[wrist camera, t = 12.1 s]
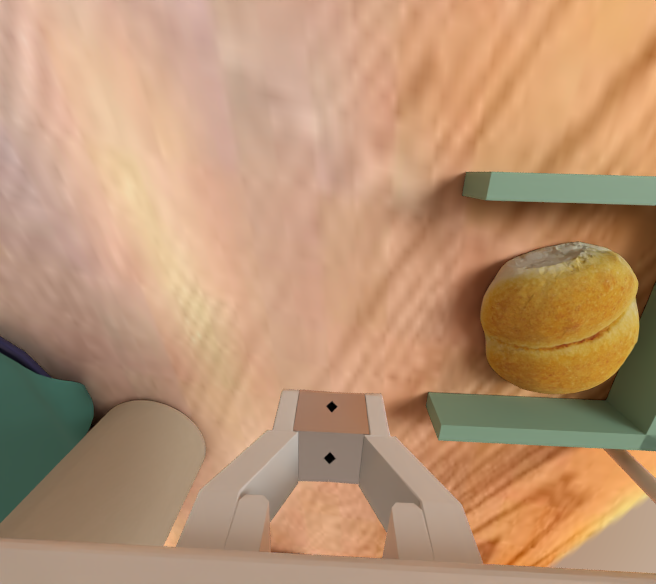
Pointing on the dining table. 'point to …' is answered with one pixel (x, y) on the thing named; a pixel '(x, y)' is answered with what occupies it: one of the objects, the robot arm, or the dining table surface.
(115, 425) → the travel mug
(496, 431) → the green pocket
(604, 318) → the bread roll
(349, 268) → the dining table surface
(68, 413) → the cutlery set
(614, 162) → the dining table surface
